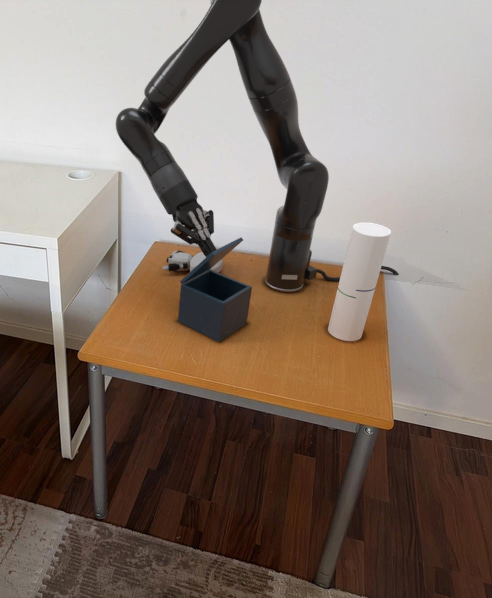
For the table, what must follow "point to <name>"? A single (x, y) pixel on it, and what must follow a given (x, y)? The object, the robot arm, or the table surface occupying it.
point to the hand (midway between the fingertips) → (212, 255)
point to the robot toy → (188, 262)
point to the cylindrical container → (358, 280)
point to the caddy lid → (211, 260)
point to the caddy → (214, 304)
